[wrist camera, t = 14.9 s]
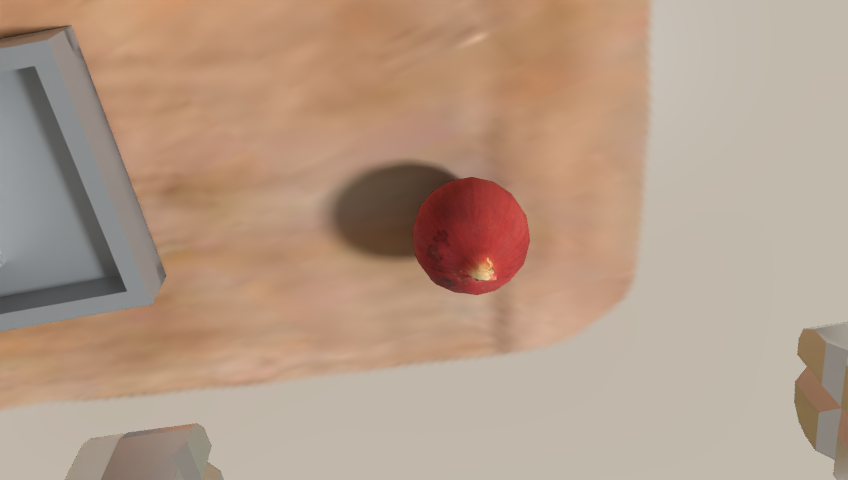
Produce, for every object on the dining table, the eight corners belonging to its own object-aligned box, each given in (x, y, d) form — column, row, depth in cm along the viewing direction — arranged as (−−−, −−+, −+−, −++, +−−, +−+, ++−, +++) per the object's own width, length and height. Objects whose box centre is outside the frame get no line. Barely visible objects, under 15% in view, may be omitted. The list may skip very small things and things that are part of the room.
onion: (447, 270, 44) (460, 352, 37) (389, 194, 42) (391, 266, 35) (535, 217, 43) (566, 291, 36) (480, 135, 41) (502, 197, 33)
